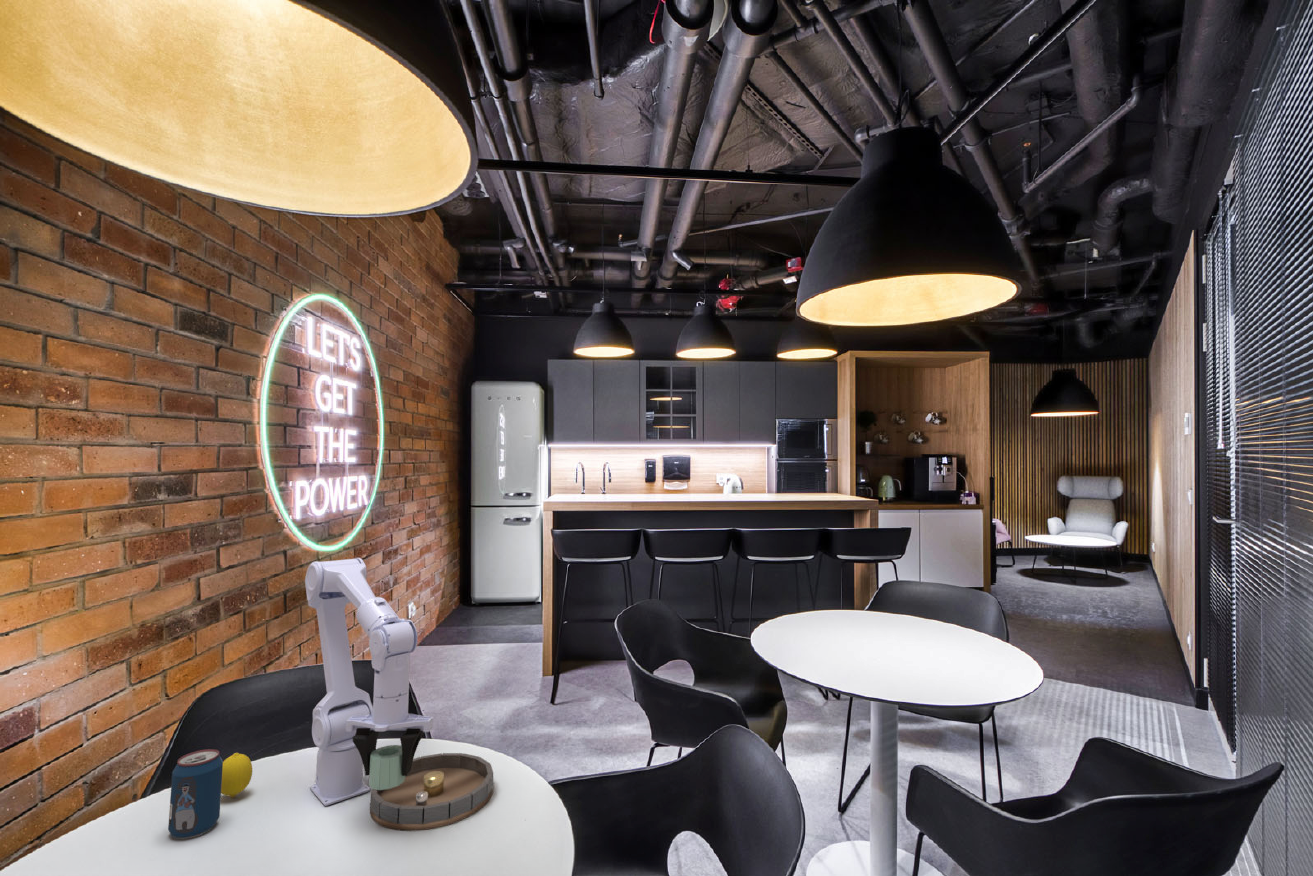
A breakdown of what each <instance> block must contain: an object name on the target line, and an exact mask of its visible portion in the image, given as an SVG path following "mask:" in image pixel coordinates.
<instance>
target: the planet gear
mask: <svg viewBox="0 0 1313 876" xmlns="http://www.w3.org/2000/svg"><path fill="white" fill-rule="evenodd" d="M368 776H369V778H368V779H369V781H368V787H369V788H370V789H371V788H372V789H376V790H384V789H390V788H393V787H396V786H399V785H400V784H401V783H403V782H404V780H405V776H402V746H401V744H389V745H385V746H381V747H378V748H376V750H374V751H373V752H372V753H371V755H370V775H368Z"/></svg>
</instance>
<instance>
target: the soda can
mask: <svg viewBox="0 0 1313 876" xmlns="http://www.w3.org/2000/svg"><path fill="white" fill-rule="evenodd" d="M223 762H224V761H223V759H222V757H221V756H220V751H219V750H218V749H212V748H211V749H210V748H209V749H201V750H196V751H193V752H190V753H187V754H185V755H182V756H181V757H180V758H178V760H177V764H176V765H175V767H174V769H173V770H172V773H171V774H172V775H171V784H170V785H171V786H170V799H169V800H170V801H169V813H168V824H167V825H168V827H167V829H168V832H169V834H170V835H171V836H172V837H173V839H176V840H189V839H194V838H196V837H199V836H202V835H204V834H206V833H207V831H208V832H209V831H211V830H212V829H213V828H214V826H215V825H216V823H217V821H218V820H219V819H220V813H221V802H222V801H221V796H222V793H221V785H222V769H223ZM210 829H211V830H210ZM203 833H204V834H203ZM201 834H202V835H201ZM188 838H189V839H188Z"/></svg>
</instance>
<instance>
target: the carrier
mask: <svg viewBox="0 0 1313 876" xmlns="http://www.w3.org/2000/svg"><path fill="white" fill-rule="evenodd" d="M493 788H494V770H493V766H492V763H490V762H488V761H487V760H485V759H484V758H482V757H480V756H477V755H473V754H469V753H461V752H457V753H456V752H453V753H452V752H443V753H442V752H441V753H434V754H430V755H429V754H428V755H423V756H418V757H414V758H413V762H412V766H411V771H410V772H409V773H408V774H407V775H406V776H405V780H404V782H403V783H401V784H400V785H399V786H396V787H393V788H390V789H384V790H376V789H372V788H371V787H370V799H369V801H370V802H369V814H370V817H371V819H372V820H373V821H374V822H375V823H376V824H378V825H379V826H382V827H384V828H388V829H392V830H397V831H407V832H408V831H409V832H413V831H414V832H415V831H425V830H432V829H438V828H442V827H446V826H449V825H452V824H454V823H457V822H460V821H463V820H465V819H467V818H469V817H471V816H472V815H474V814H476V813H477V812H479V811H480V810H482V809H483V808H484V807H485V806H486V805H487V804H488V802H489V801H490V799H491V798H492V795H493V791H492V790H493ZM483 806H484V807H483ZM470 815H471V816H470Z"/></svg>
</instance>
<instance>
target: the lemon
mask: <svg viewBox="0 0 1313 876" xmlns="http://www.w3.org/2000/svg"><path fill="white" fill-rule="evenodd" d="M252 775H253V765H252V761H251V759H250V758H249V756H247V755H246V754H243V753H239V752H235V753H233V754H232V755H230V756H229V757H227V758H225V759H224V761H223V769H222V785H221V795H223V796H228V797H230V798H232V799H233V798H235V797H237V796H238V794H240V793H242V792H243V791H244V790H245V789H246V788H247V787H248V785H249V784H250V782H251V779H252Z"/></svg>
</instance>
